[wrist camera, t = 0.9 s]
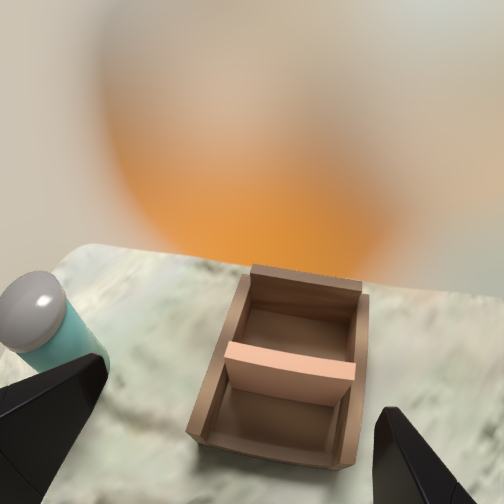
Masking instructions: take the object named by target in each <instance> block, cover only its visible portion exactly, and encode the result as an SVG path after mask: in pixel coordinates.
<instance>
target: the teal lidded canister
mask: <svg viewBox="0 0 504 504" xmlns="http://www.w3.org/2000/svg"><path fill="white" fill-rule="evenodd" d="M0 342H1V343H3V345H4V346H5V347H7V348H8V349H9V350H11V351H13V352H15V353H16V354H18V355H19V356H20V357H21V358H22V359H23V360H24V361H25V362H26V363H28V364H29V365H30V366H31V367H32V368H33V369H35V370H36V371H37V372H38V373H42V372H44V371H47V370H49V369H52V368H54V367H57V366H59V365H62V364H64V363H67V362H69V361H72V360H74V359H77V358H79V357H82V356H84V355H86V354H89V353H92V352H93V353H96V354H99V355H102V356H103V358H104V361H105V364H106V368H107V371H108V374H109V370H110V360H109V356H108V353H107V351H106V350H105V348H104V347H103V346H102V345H101V343H100V342H99V341H98V340H97V338H96V337H95V336H94V335H93V333H92V332H91V331H90V329H89V328H88V327H87V325H86V324H85V323H84V321H83V320H82V319H81V317H80V316H79V315H78V313H77V312H76V311H75V309H74V308H73V306H72V305H71V304H70V302H69V301H68V299H67V298H66V294H65V291H64V289H63V288H62V286H61V285H60V283H59V281H58V280H57V279H56V277H55V276H54V275H53V274H51V273H49V272H46V271H34V272H30V273H27V274H25V275H23V276H21V277H19V278H18V279H16V280H15V281H14V282H12V283H11V284H10V285H9V286H8V287H7V288H6V290H5V291H4V292H3V293H2V295H1V297H0Z"/></svg>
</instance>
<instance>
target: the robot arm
mask: <svg viewBox="0 0 504 504" xmlns="http://www.w3.org/2000/svg"><path fill="white" fill-rule="evenodd" d="M107 378H108V371H107V368H106V364H105V361H104V358H103V356H102V355H99V354H96V353H93V352H92V353H89V354H86V355H84V356H82V357H79V358H77V359H74V360H72V361H69V362H67V363H64V364H62V365H59V366H57V367H54V368H52V369H49V370H47V371H44V372H42V373H39V374H37V375H34V376H32V377H29V378H26V379H24V380H21V381H19V382H16V383H13V384H11V385H9V386H6V387H3V388H0V504H41V502H42V500H43V497H44V496H45V494H46V492H47V490H48V488H49V486H50V485H51V483H52V481H53V479H54V477H55V475H56V474H57V472H58V470H59V468H60V466H61V465H62V463H63V461H64V459H65V458H66V456H67V454H68V452H69V451H70V449H71V447H72V445H73V444H74V442H75V440H76V439H77V437H78V435H79V433H80V432H81V430H82V428H83V427H84V425H85V423H86V422H87V420H88V418H89V417H90V415H91V413H92V411H93V409H94V407H95V405H96V403H97V400H98V398H99V396H100V394H101V392H102V390H103V387H104V385H105V383H106V381H107ZM372 478H373V504H477V503H476V502H475V501H474V500H473V499H472V497H471V496H470V495H469V494H468V493H467V492H466V490H465V489H464V488H463V487H462V485H461V484H460V483H459V482H457V479H456V478H455V477H454V476H453V474H452V473H451V472H450V471H449V469H448V468H447V467H446V466H445V464H444V463H443V462H442V461H441V459H440V458H439V457H438V456H437V454H436V453H435V452H434V451H433V450H432V448H431V447H430V446H429V445H428V443H427V442H426V441H425V440H424V438H423V437H422V436H421V435H420V434H419V432H418V431H417V430H416V429H415V427H414V426H413V425H412V424H411V422H410V421H409V420H408V419H407V418H406V416H405V415H404V414H403V413H402V412H401V410H400V409H399V408H398V407H385V408H384V409H383V410H382V412H381V414H380V416H379V418H378V420H377V422H376V424H375V429H374V450H373V467H372Z"/></svg>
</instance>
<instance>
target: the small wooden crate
mask: <svg viewBox="0 0 504 504" xmlns="http://www.w3.org/2000/svg"><path fill="white" fill-rule="evenodd" d="M361 293H362V281H355V280H349V279H343V278H337V277H330V276H324V275H318V274H312V273H306V272H300V271H293V270H288V269H281V268H275V267H269V266H263V265H257V264H253V265H252V268H251V271H250V275H246V274H242V275H241V278H240V281H239V284H238V287H237V289H236V292H235V295H234V298H233V300H232V303H231V306H230V309H229V311H228V314H227V317H226V320H225V323H224V325H223V328H222V331H221V334H220V336H219V339H218V342H217V345H216V347H215V350H214V353H213V356H212V359H211V361H210V364H209V367H208V370H207V372H206V375H205V378H204V381H203V384H202V386H201V389H200V392H199V395H198V398H197V400H196V403H195V406H194V409H193V411H192V414H191V417H190V420H189V423H188V425H187V428H186V431H185V432H187V433H188V434H189V435H190V436H191V437H192V438H193V439H194V440H195V441H196V442H198V443H200V444H204V445H207V446H211V447H214V448H218V449H221V450H225V451H229V452H233V453H237V454H241V455H245V456H250V457H254V458H259V459H264V460H269V461H274V462H280V463H285V464H291V465H298V466H305V467H312V468H320V469H329V470H341V469H344V468H347V467H349V466H352V465H355V461H356V455H357V448H358V442H359V435H360V427H361V419H362V411H363V402H364V392H365V381H366V368H367V352H368V330H369V295H367V294H361ZM229 341H232V342H237V343H241V344H246V345H251V346H255V347H260V348H265V349H271V350H276V351H281V352H287V353H292V354H298V355H304V356H310V357H316V358H322V359H329V360H335V361H343V362H350V363H356V368H355V379H354V382H353V383H352V384H351V386H350V387H349V389H348V390H347V391H346V393H345V394H344V395H343V397H342V398H341V399H340V401H339V402H338V403H337V405H336V406H335V407H333V406H325V405H318V404H311V403H305V402H299V401H293V400H288V399H282V398H277V397H272V396H267V395H262V394H257V393H252V392H248V391H243V390H239V389H235V388H231V385H230V381H229V377H228V372H227V368H226V364H225V360H224V355H225V352H226V349H227V346H228V343H229Z"/></svg>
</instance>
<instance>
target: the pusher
mask: <svg viewBox="0 0 504 504" xmlns="http://www.w3.org/2000/svg"><path fill="white" fill-rule="evenodd" d="M224 360H225V364H226V368H227V372H228V377H229V381H230V385H231V388H235V389H239V390H243V391H248V392H252V393H257V394H262V395H267V396H272V397H277V398H282V399H288V400H293V401H299V402H305V403H311V404H318V405H325V406H333V407H335V406H336V405H337V403H338V402H339V401H340V399H341V398H342V397H343V395H344V394H345V393H346V391H347V390H348V389H349V387H350V386H351V384H352V383H353V382H354V379H355V368H356V363H350V362H343V361H335V360H329V359H322V358H316V357H310V356H304V355H298V354H292V353H287V352H281V351H276V350H271V349H265V348H260V347H255V346H251V345H246V344H241V343H237V342H232V341H229V343H228V346H227V349H226V352H225V355H224Z"/></svg>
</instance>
